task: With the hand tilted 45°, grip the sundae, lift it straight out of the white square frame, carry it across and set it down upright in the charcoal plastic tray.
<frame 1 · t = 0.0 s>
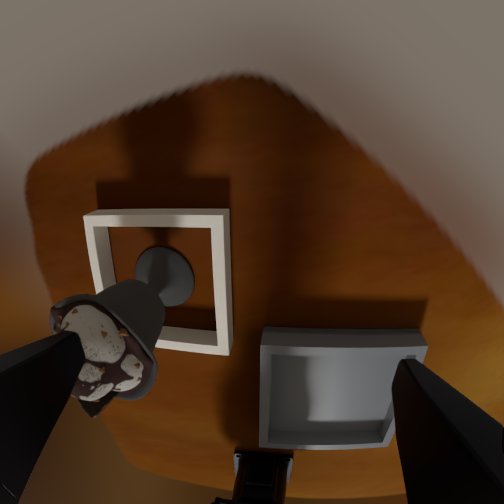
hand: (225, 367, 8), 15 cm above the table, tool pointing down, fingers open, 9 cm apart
white square frame: (163, 276, 24), on the table
sundae: (164, 275, 24), resting in white square frame
tray: (334, 387, 26), on the table
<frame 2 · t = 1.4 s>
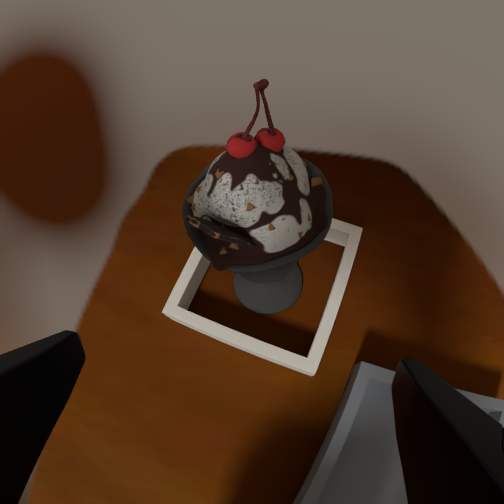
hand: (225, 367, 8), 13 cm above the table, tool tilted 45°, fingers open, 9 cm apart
white square frame: (267, 280, 23), on the table
sundae: (267, 281, 23), resting in white square frame
tray: (401, 471, 16), on the table
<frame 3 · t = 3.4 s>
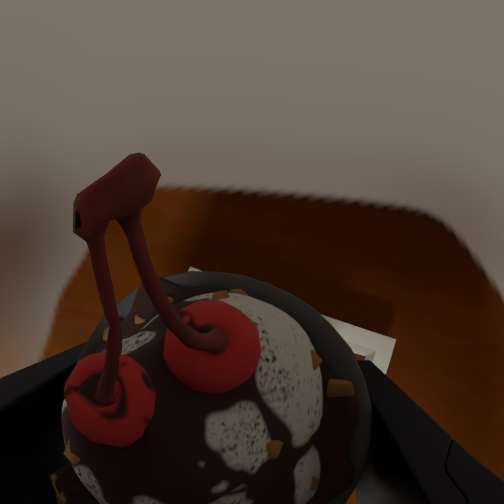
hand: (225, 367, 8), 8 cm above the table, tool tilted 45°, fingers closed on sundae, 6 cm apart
white square frame: (250, 408, 14), on the table
sundae: (250, 408, 15), resting in white square frame, touching gripper
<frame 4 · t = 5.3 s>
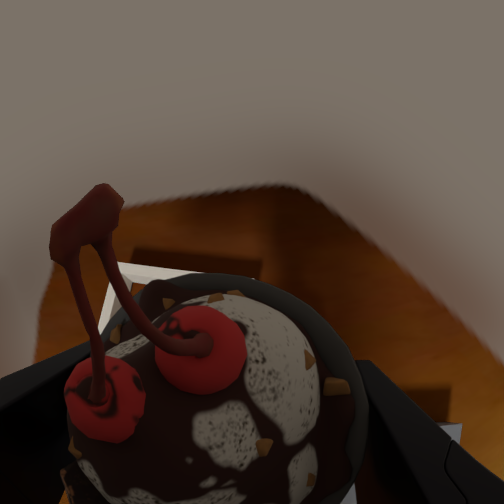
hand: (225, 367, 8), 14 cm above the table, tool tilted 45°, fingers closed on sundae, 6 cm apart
white square frame: (172, 348, 22), on the table
sundae: (264, 403, 15), point 5 cm above the table, touching gripper
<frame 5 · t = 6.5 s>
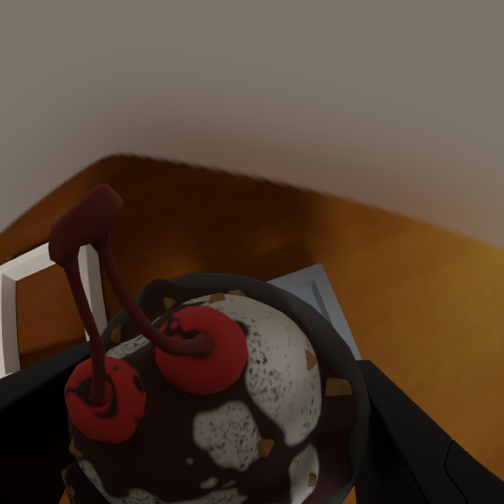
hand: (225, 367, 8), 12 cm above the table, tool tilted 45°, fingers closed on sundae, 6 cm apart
white square frame: (51, 315, 22), on the table
sundae: (265, 402, 15), point 3 cm above the table, touching gripper
tray: (257, 401, 18), on the table
when the fingers open (10 cm above the table, at t = 7.3 s): sundae moves 1 cm, resting on tray.
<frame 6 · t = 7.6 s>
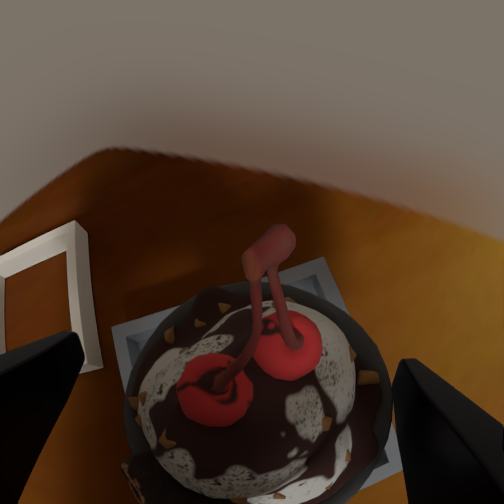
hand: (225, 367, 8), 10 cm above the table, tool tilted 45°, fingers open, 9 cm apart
white square frame: (39, 313, 20), on the table
sundae: (270, 401, 16), point 1 cm above the table, touching tray
tray: (254, 406, 16), on the table
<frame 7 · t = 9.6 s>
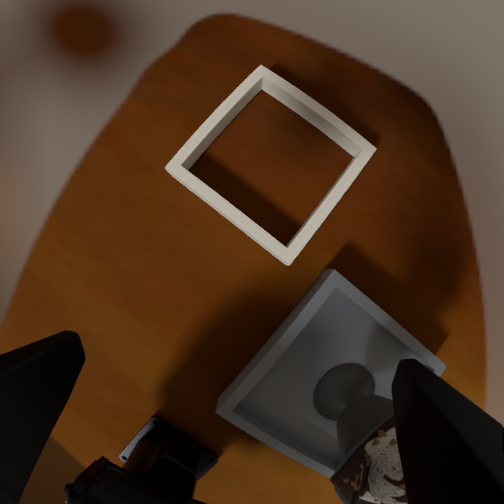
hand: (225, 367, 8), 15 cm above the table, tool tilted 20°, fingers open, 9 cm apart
white square frame: (272, 162, 23), on the table
sundae: (344, 391, 22), point 1 cm above the table, touching tray
tray: (333, 382, 23), on the table
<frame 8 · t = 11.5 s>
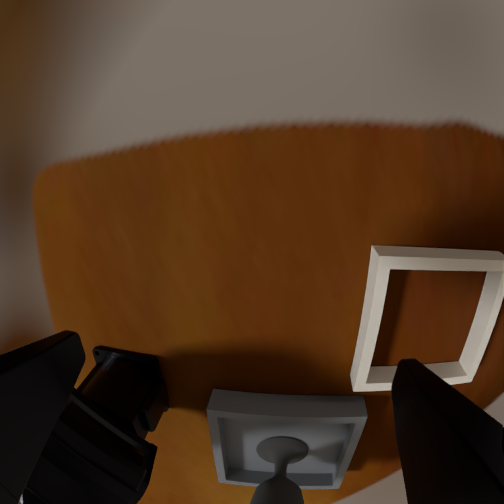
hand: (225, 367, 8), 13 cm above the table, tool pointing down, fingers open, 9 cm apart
white square frame: (428, 317, 21), on the table
sundae: (283, 448, 26), point 1 cm above the table, touching tray
tray: (284, 438, 26), on the table
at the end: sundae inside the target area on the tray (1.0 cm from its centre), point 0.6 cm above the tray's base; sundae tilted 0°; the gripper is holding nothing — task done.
